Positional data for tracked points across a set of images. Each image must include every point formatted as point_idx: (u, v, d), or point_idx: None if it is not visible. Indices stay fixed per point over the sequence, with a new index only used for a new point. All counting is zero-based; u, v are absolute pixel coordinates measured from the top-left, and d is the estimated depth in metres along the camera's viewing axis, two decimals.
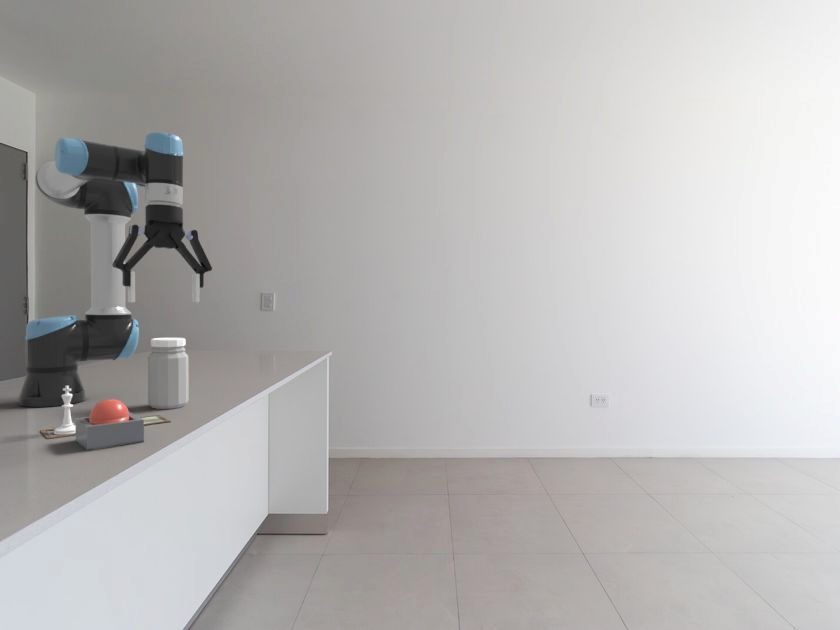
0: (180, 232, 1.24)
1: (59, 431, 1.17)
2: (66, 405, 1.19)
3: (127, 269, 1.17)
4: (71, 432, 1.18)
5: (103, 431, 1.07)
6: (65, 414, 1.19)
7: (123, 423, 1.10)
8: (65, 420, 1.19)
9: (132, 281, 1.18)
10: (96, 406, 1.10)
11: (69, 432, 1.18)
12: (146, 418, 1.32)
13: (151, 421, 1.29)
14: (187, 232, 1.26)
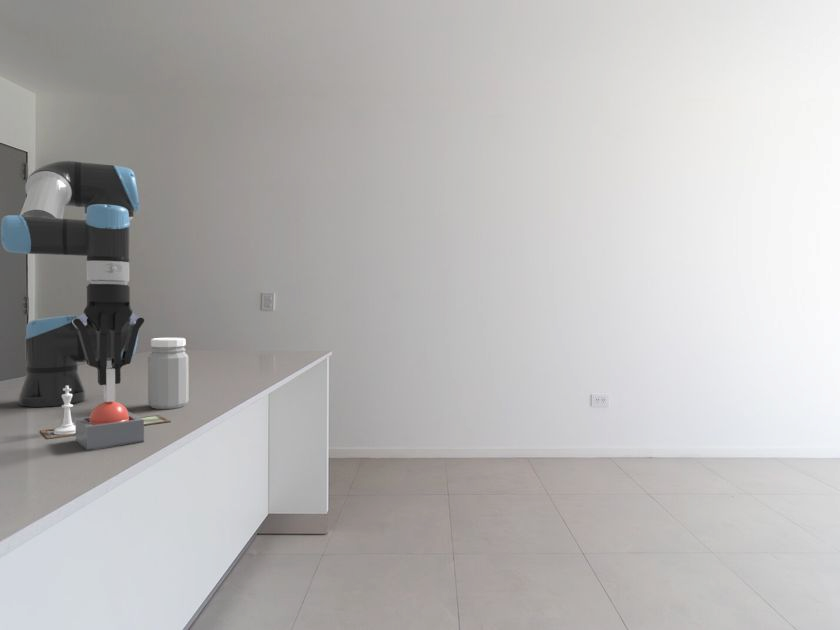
0: (127, 311, 1.13)
1: (59, 431, 1.17)
2: (66, 405, 1.19)
3: (103, 367, 1.10)
4: (71, 432, 1.18)
5: (103, 431, 1.07)
6: (65, 414, 1.19)
7: (123, 423, 1.10)
8: (65, 420, 1.19)
9: (108, 379, 1.11)
10: (96, 408, 1.10)
11: (69, 432, 1.18)
12: (146, 418, 1.32)
13: (151, 421, 1.29)
14: (134, 316, 1.15)
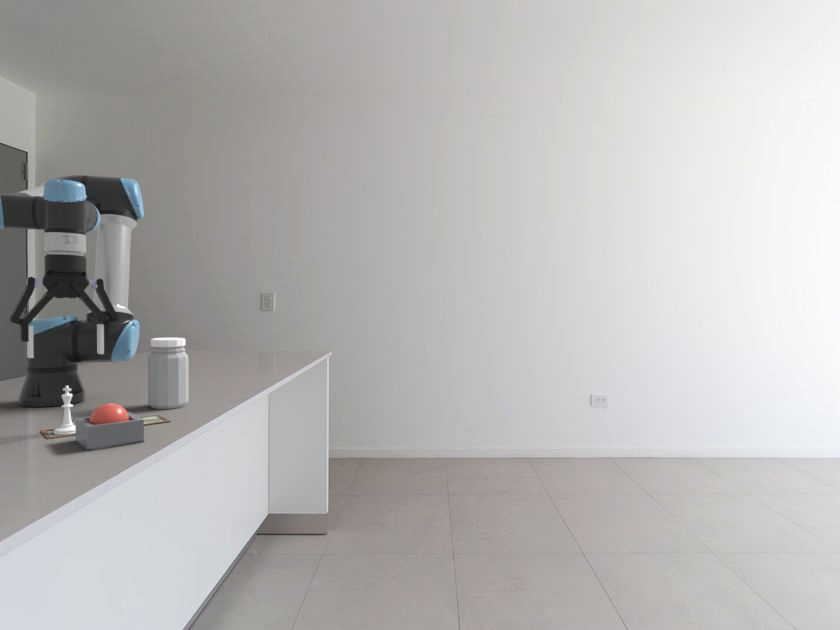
0: (83, 281, 1.20)
1: (59, 431, 1.17)
2: (66, 405, 1.19)
3: (24, 324, 1.13)
4: (71, 432, 1.18)
5: (103, 431, 1.07)
6: (65, 414, 1.19)
7: (123, 423, 1.10)
8: (65, 420, 1.19)
9: (30, 336, 1.14)
10: (96, 410, 1.10)
11: (69, 432, 1.18)
12: (146, 418, 1.32)
13: (151, 421, 1.29)
14: (92, 281, 1.22)
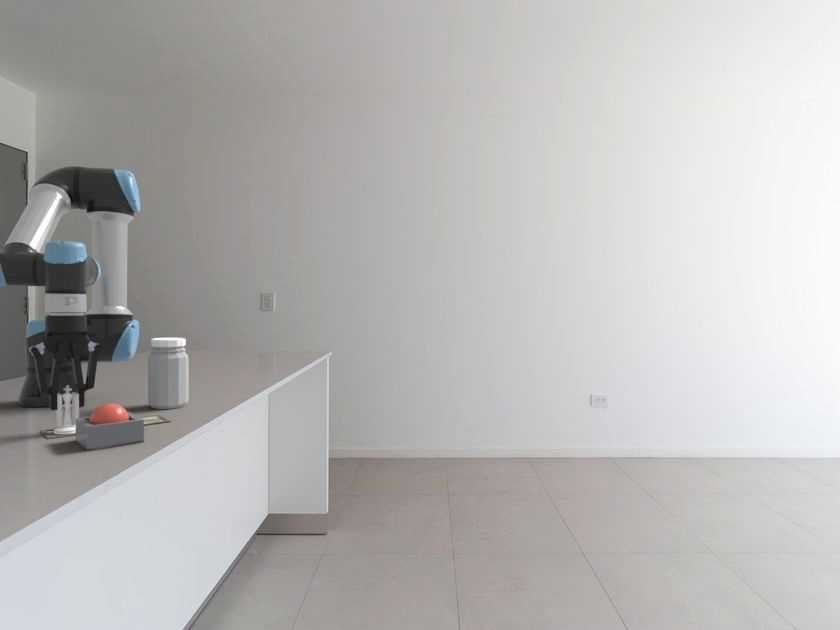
0: (84, 340, 1.20)
1: (59, 430, 1.17)
2: (66, 405, 1.19)
3: (54, 394, 1.17)
4: (71, 432, 1.18)
5: (103, 431, 1.07)
6: (65, 414, 1.19)
7: (123, 423, 1.10)
8: (65, 420, 1.19)
9: (59, 405, 1.17)
10: (96, 410, 1.10)
11: (69, 432, 1.18)
12: (146, 418, 1.32)
13: (151, 421, 1.29)
14: (92, 343, 1.22)
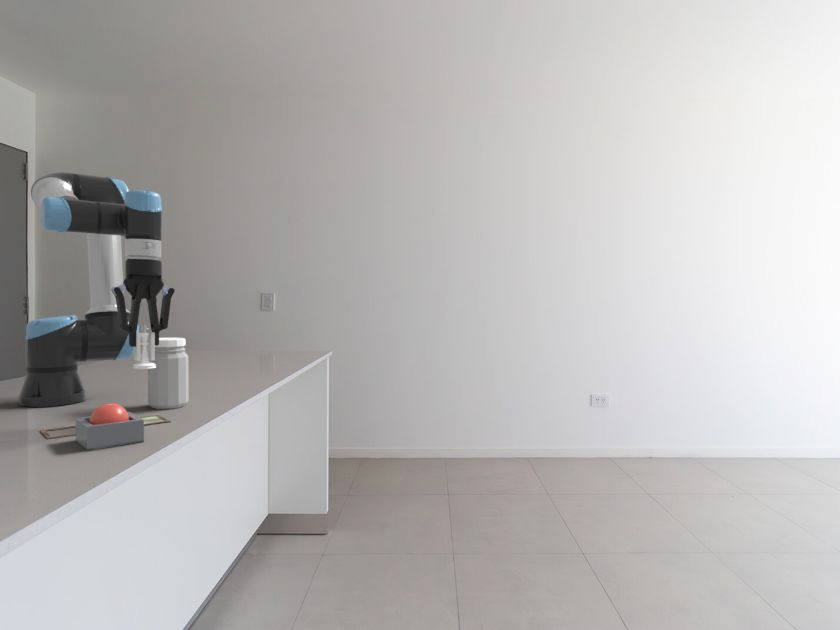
0: (159, 283, 1.30)
1: (138, 365, 1.27)
2: (144, 342, 1.29)
3: (134, 331, 1.27)
4: (149, 367, 1.28)
5: (103, 431, 1.07)
6: (143, 351, 1.29)
7: (123, 423, 1.10)
8: (143, 356, 1.29)
9: (138, 342, 1.27)
10: (96, 410, 1.10)
11: (147, 367, 1.28)
12: (146, 418, 1.32)
13: (151, 421, 1.29)
14: (165, 287, 1.32)
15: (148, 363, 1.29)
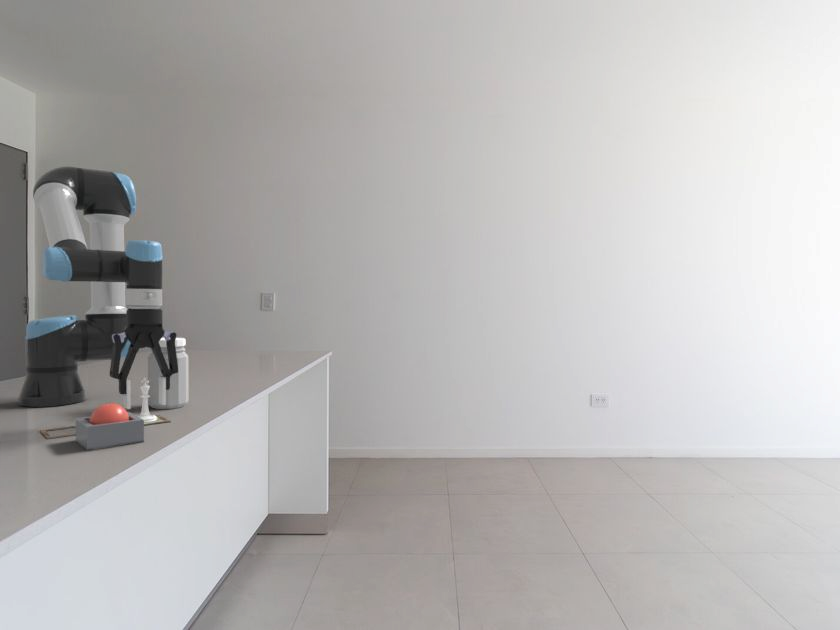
0: (160, 331, 1.31)
1: None
2: (144, 395, 1.29)
3: (124, 379, 1.26)
4: (149, 420, 1.29)
5: (103, 431, 1.07)
6: (143, 404, 1.30)
7: (123, 423, 1.10)
8: (143, 409, 1.30)
9: (128, 389, 1.26)
10: (96, 410, 1.10)
11: (147, 420, 1.28)
12: None
13: None
14: (167, 333, 1.33)
15: (149, 416, 1.30)
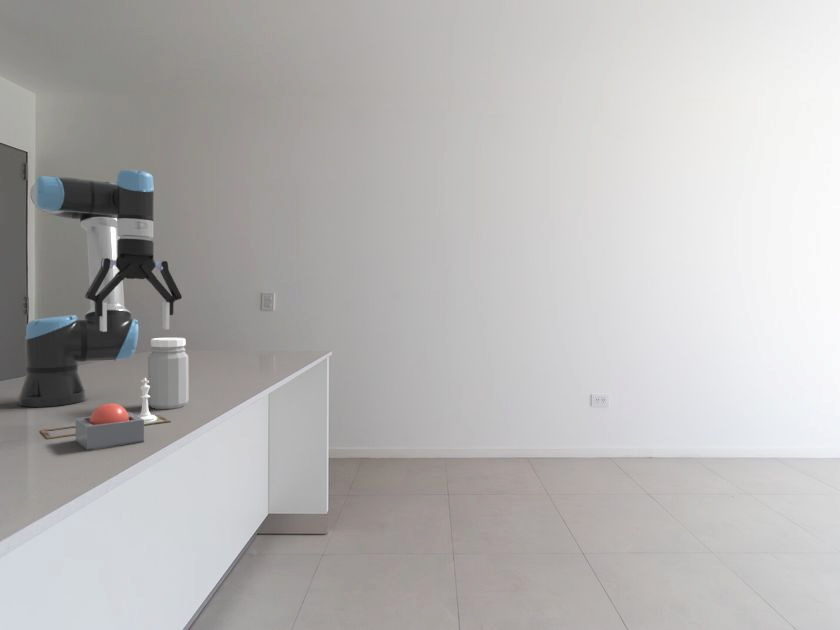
0: (151, 263, 1.31)
1: None
2: (144, 396, 1.29)
3: (99, 300, 1.24)
4: (149, 420, 1.29)
5: (103, 431, 1.07)
6: (143, 404, 1.30)
7: (123, 423, 1.10)
8: (143, 409, 1.30)
9: (104, 312, 1.25)
10: (96, 410, 1.10)
11: (147, 420, 1.28)
12: None
13: None
14: (157, 263, 1.33)
15: (149, 416, 1.30)
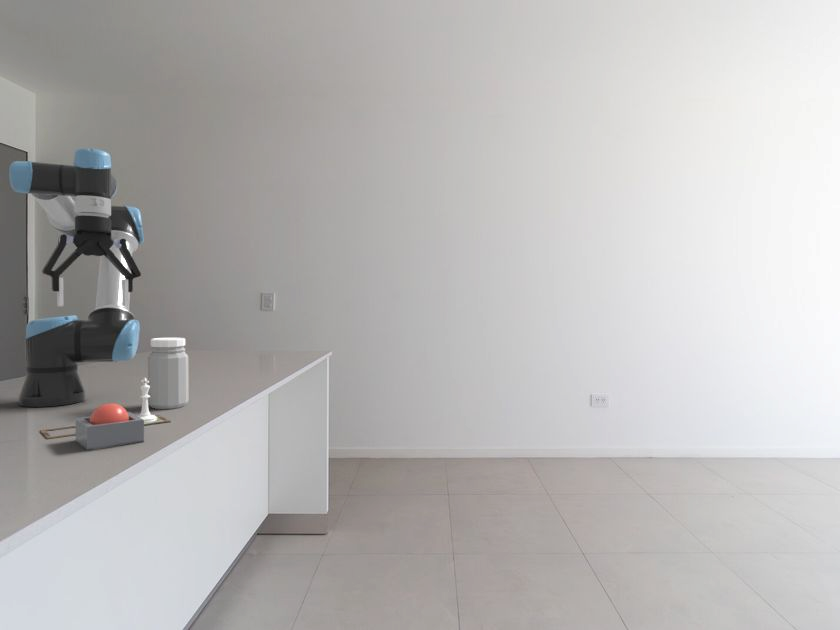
0: (108, 241, 1.34)
1: None
2: (144, 396, 1.29)
3: (55, 275, 1.26)
4: (149, 420, 1.29)
5: (103, 431, 1.07)
6: (143, 404, 1.30)
7: (123, 423, 1.10)
8: (143, 409, 1.30)
9: (60, 286, 1.27)
10: (96, 410, 1.10)
11: (147, 420, 1.28)
12: None
13: None
14: (116, 241, 1.35)
15: (149, 416, 1.30)
